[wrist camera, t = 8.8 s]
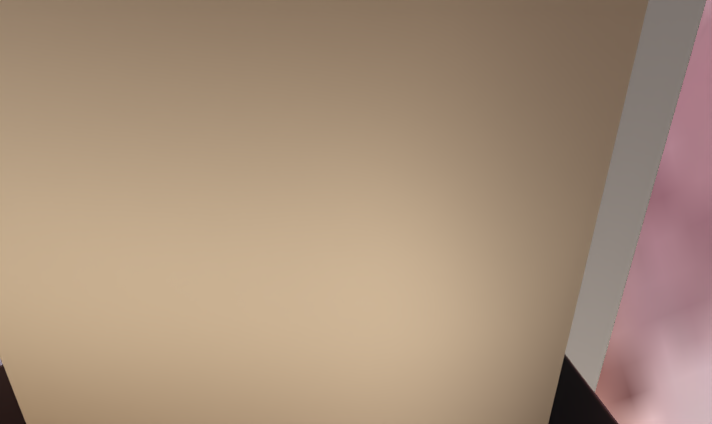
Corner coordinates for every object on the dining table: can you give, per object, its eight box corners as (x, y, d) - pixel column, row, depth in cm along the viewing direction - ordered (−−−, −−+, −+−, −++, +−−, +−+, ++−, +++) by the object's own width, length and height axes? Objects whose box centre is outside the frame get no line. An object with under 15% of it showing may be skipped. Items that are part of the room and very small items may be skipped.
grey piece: (527, 470, 17) (538, 590, 14) (220, 434, 18) (180, 541, 15) (768, -595, 7) (930, -791, 5) (63, -555, 8) (-118, -707, 6)
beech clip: (457, 429, 14) (453, 825, 9) (274, 408, 15) (163, 773, 9) (545, -258, 8) (731, -348, 2) (213, -257, 8) (-269, -332, 3)
